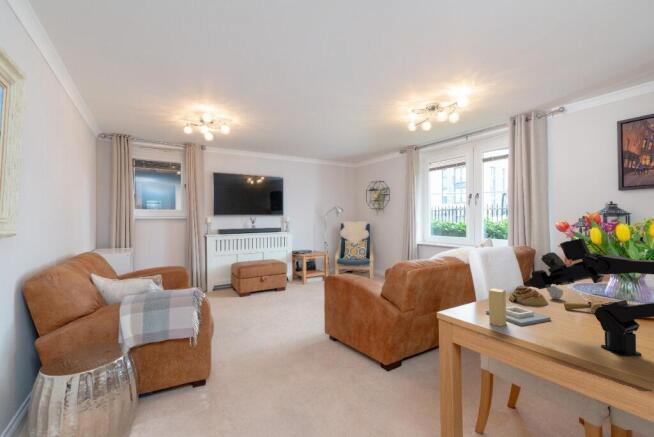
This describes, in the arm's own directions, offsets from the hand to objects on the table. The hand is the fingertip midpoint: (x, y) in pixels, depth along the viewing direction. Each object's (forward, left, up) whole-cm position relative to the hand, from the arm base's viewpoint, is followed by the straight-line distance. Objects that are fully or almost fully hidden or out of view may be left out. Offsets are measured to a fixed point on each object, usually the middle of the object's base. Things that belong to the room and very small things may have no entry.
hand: (532, 282), depth 114 cm
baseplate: (+8, +1, -16) cm, 18 cm away
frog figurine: (+32, -34, -16) cm, 49 cm away
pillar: (+1, +13, -16) cm, 21 cm away
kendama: (+12, -34, -16) cm, 39 cm away
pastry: (+29, -18, -16) cm, 38 cm away
